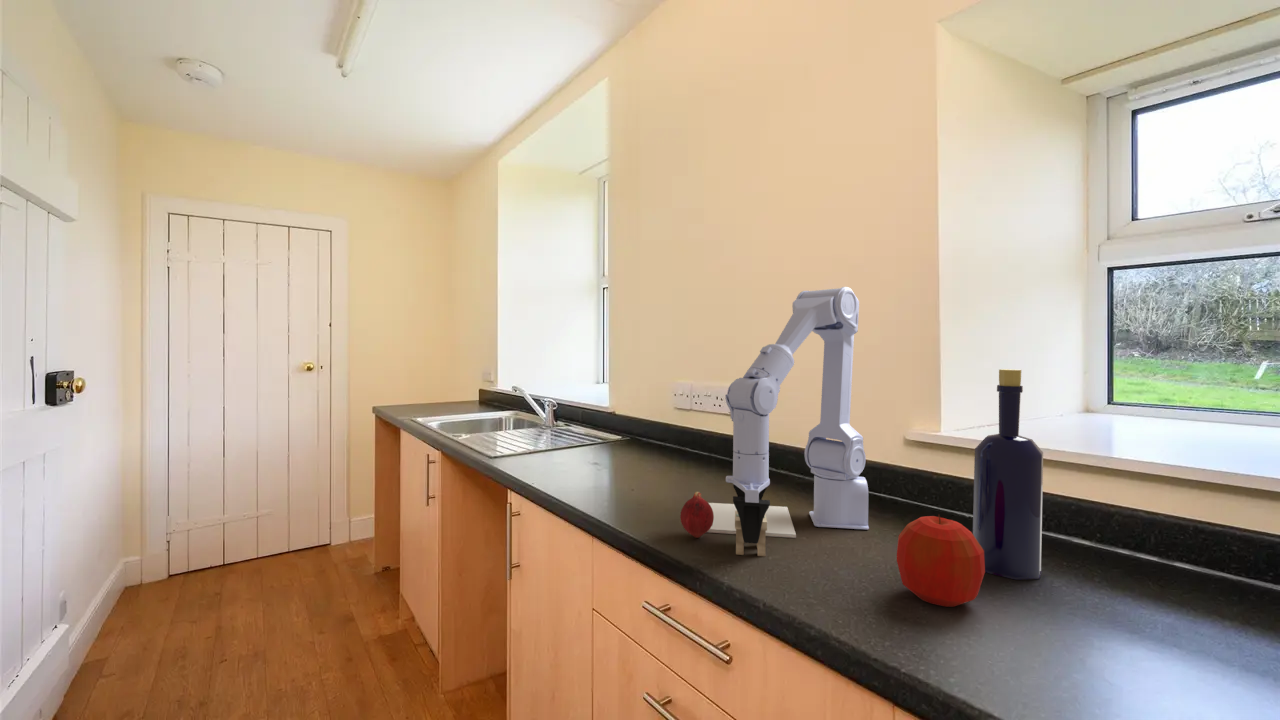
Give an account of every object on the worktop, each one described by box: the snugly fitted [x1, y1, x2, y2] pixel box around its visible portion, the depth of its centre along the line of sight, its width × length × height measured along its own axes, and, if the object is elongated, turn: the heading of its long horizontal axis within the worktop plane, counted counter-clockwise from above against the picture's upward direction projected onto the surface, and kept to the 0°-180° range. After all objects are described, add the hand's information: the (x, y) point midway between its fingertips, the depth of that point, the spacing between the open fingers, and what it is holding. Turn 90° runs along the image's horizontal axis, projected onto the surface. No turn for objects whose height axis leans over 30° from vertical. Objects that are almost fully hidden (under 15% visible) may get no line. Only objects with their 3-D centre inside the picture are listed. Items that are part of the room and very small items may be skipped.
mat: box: [706, 502, 797, 539], centre depth 102 cm, size 16×16×1 cm
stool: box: [735, 511, 767, 557], centre depth 88 cm, size 5×5×6 cm
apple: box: [896, 514, 986, 608], centre depth 70 cm, size 10×10×12 cm
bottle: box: [972, 368, 1044, 581], centre depth 81 cm, size 9×9×30 cm
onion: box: [679, 491, 714, 539], centre depth 93 cm, size 6×6×8 cm
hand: (750, 533), depth 88 cm, fingers open, 7 cm apart
